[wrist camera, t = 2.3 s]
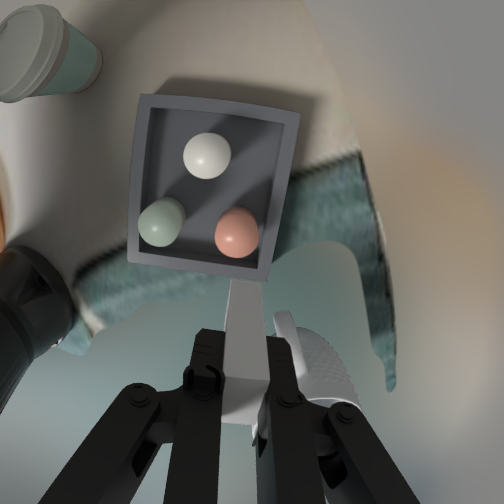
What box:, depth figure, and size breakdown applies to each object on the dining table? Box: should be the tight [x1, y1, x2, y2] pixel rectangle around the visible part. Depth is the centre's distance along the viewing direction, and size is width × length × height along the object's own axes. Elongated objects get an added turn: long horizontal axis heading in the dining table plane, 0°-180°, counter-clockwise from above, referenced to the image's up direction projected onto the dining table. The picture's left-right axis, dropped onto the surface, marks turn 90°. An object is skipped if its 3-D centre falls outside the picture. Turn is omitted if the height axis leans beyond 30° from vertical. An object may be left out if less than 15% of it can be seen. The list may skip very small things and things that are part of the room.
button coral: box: [215, 207, 259, 258], centre depth 26 cm, size 4×4×3 cm
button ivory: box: [183, 133, 231, 179], centre depth 23 cm, size 4×4×3 cm
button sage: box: [138, 197, 186, 247], centre depth 25 cm, size 4×4×3 cm
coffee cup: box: [0, 5, 103, 103], centre depth 16 cm, size 8×8×12 cm
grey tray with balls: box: [127, 94, 301, 282], centre depth 26 cm, size 14×16×3 cm
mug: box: [252, 311, 362, 438], centre depth 29 cm, size 15×11×13 cm
